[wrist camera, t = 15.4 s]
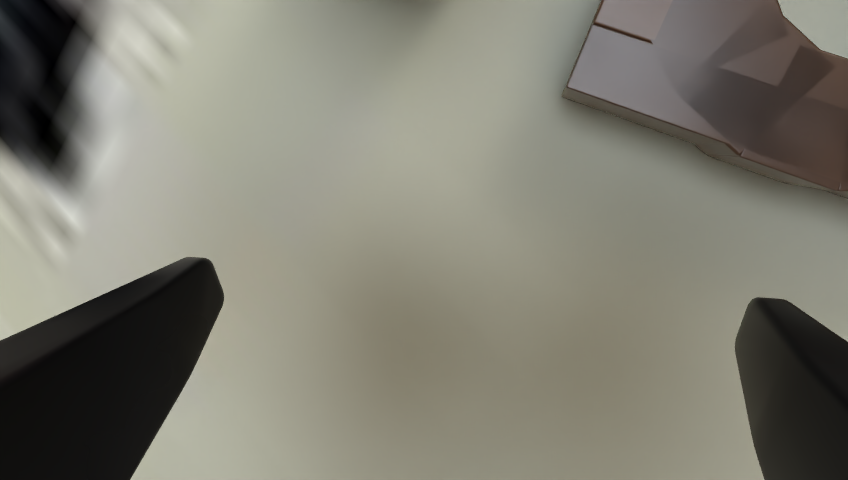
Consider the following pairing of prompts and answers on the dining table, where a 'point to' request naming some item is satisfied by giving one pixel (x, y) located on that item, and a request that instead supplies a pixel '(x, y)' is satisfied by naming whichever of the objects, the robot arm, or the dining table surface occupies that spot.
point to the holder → (721, 84)
